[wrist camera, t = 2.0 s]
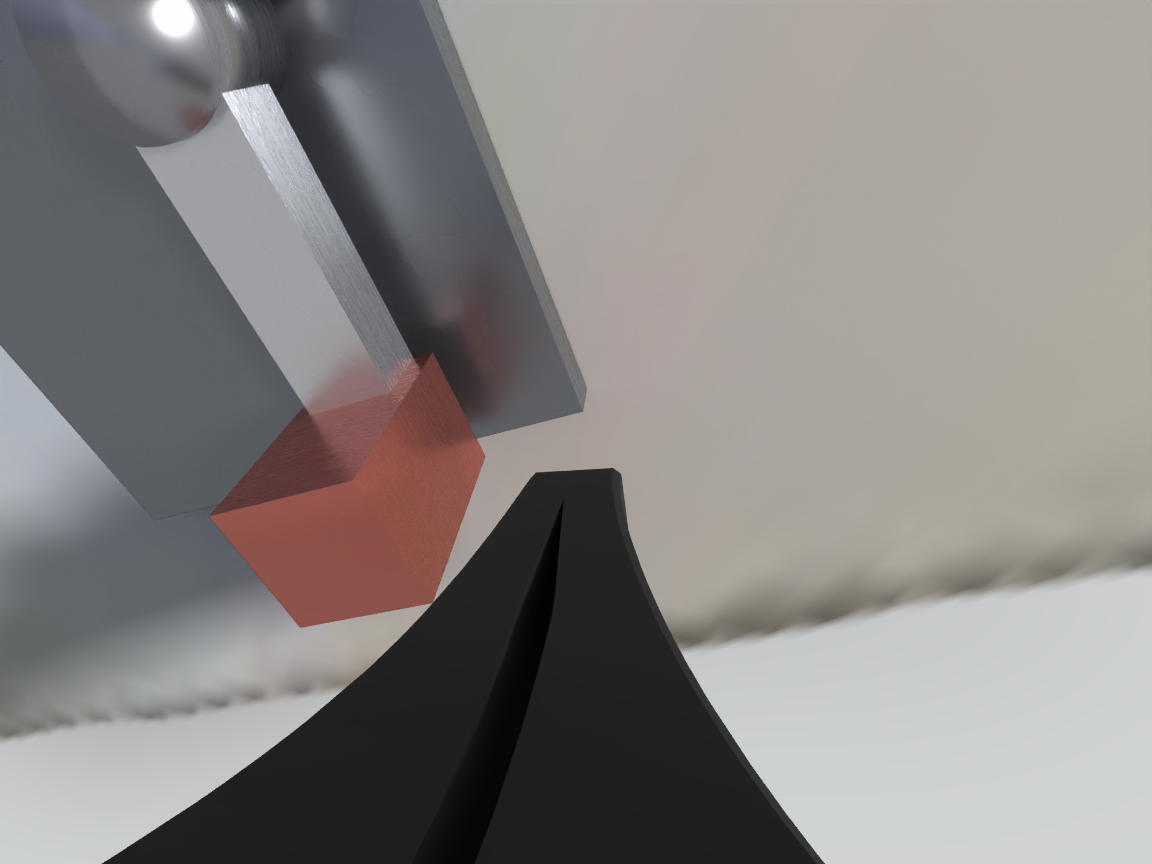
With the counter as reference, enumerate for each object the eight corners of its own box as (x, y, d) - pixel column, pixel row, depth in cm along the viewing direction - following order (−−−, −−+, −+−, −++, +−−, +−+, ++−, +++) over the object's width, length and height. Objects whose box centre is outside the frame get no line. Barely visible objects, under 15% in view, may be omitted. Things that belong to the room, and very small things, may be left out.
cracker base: (178, 496, 21) (-3, 684, 15) (-229, 8, 14) (-844, 9, 8) (601, 384, 17) (577, 576, 12) (329, -347, 10) (-71, -790, 5)
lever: (92, -22, 12) (-247, -40, 7) (223, -95, 11) (-65, -163, 7) (389, 468, 18) (300, 627, 13) (490, 442, 17) (432, 603, 12)
